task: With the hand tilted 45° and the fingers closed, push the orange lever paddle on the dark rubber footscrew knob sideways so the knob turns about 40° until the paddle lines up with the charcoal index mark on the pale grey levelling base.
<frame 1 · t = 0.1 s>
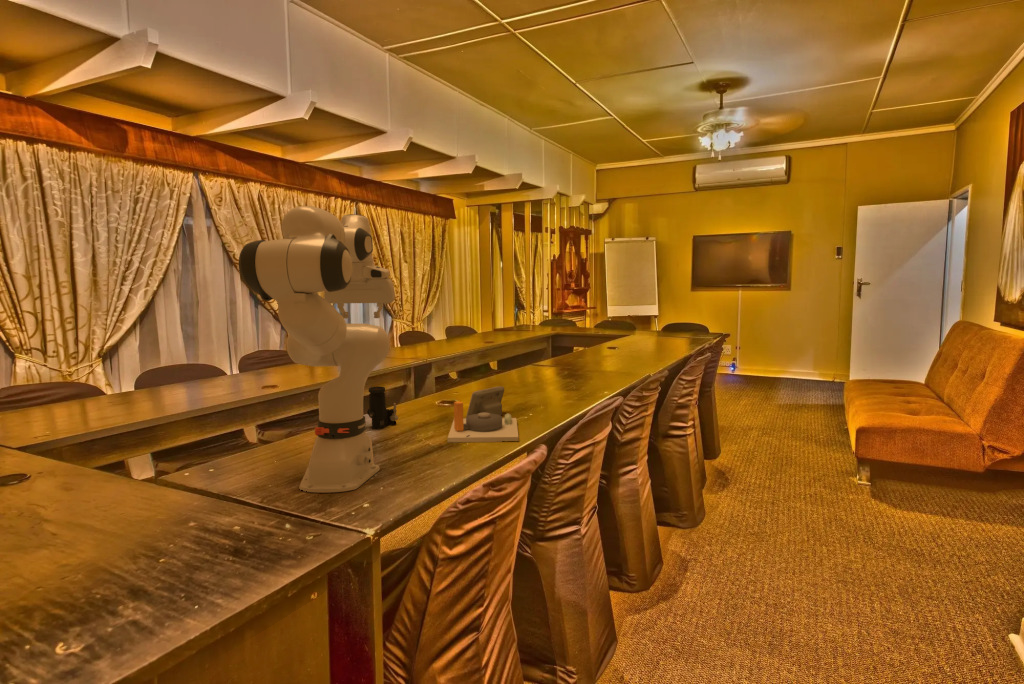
hand: (361, 318, 163), 39 cm above the table, tool pointing down, fingers open, 8 cm apart
levelling base: (484, 431, 182), on the table
scope: (380, 427, 188), on the table
digital clock: (486, 416, 203), on the table
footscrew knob: (478, 413, 180), point 6 cm above the table, hinge at -40.0°
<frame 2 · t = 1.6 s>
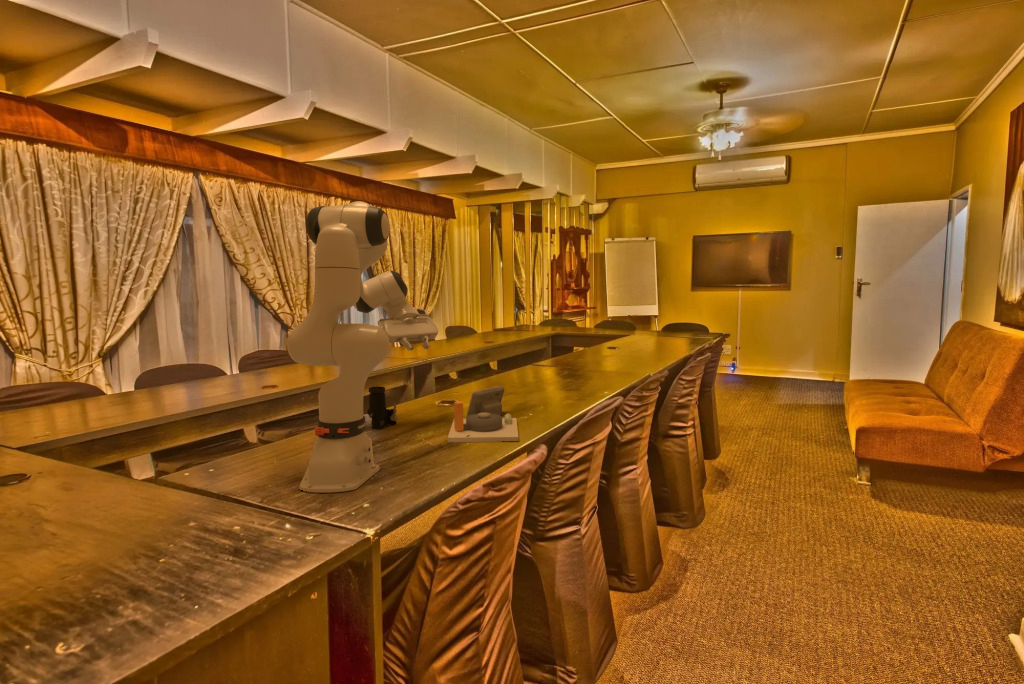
hand: (419, 348, 183), 27 cm above the table, tool tilted 45°, fingers open, 5 cm apart
nothing on the table moved.
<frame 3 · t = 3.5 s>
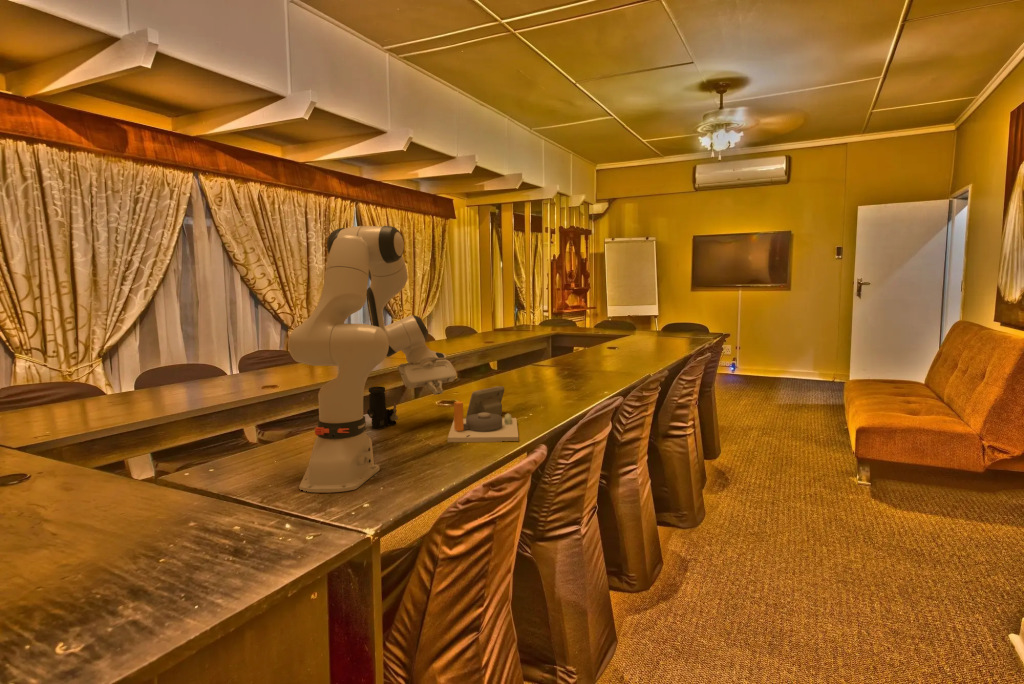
hand: (439, 393, 185), 12 cm above the table, tool tilted 45°, fingers closed
nothing on the table moved.
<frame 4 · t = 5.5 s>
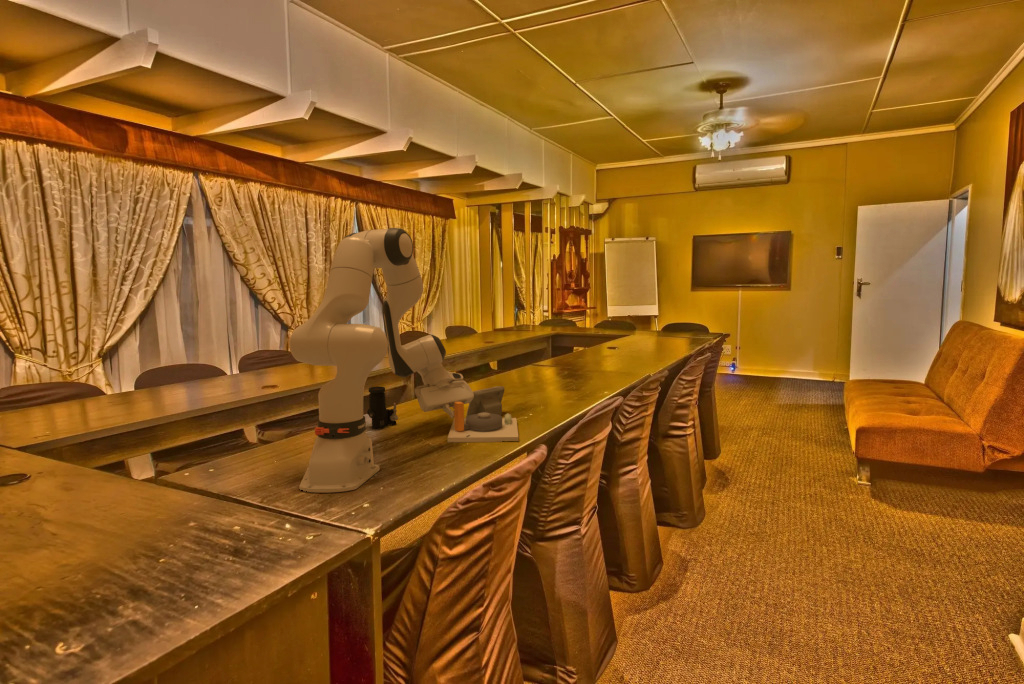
hand: (456, 416, 179), 6 cm above the table, tool tilted 45°, fingers closed
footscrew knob: (478, 413, 180), point 6 cm above the table, hinge at -37.9°, touching gripper
everything else where it was.
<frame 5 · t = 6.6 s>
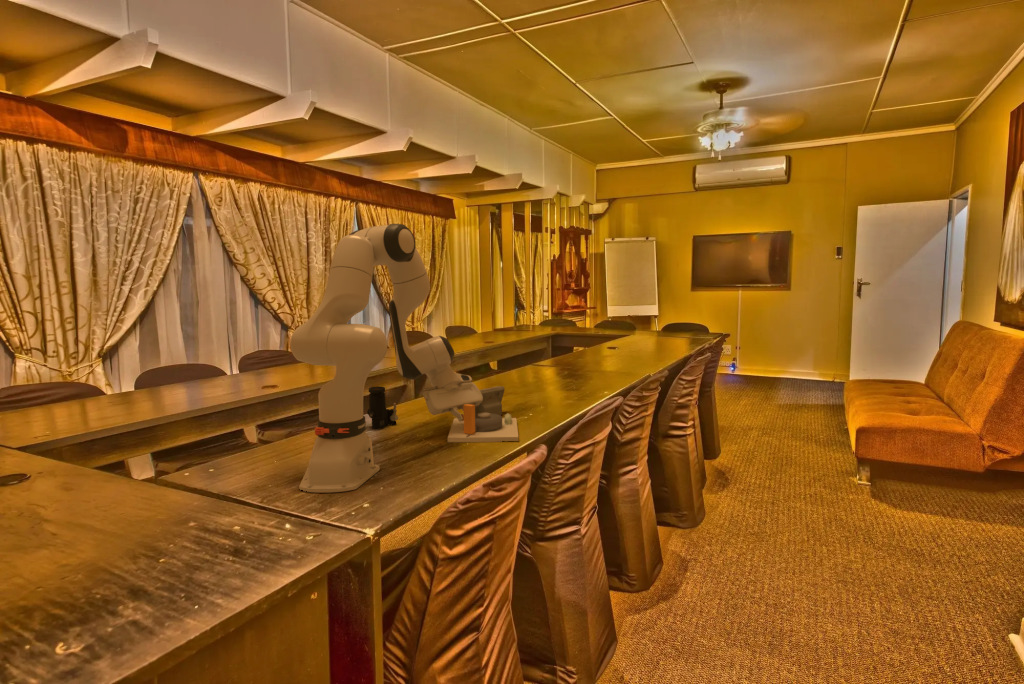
hand: (465, 419, 175), 6 cm above the table, tool tilted 45°, fingers closed, pressing on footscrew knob
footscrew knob: (480, 414, 179), point 6 cm above the table, hinge at -5.5°, touching gripper
everything else where it was.
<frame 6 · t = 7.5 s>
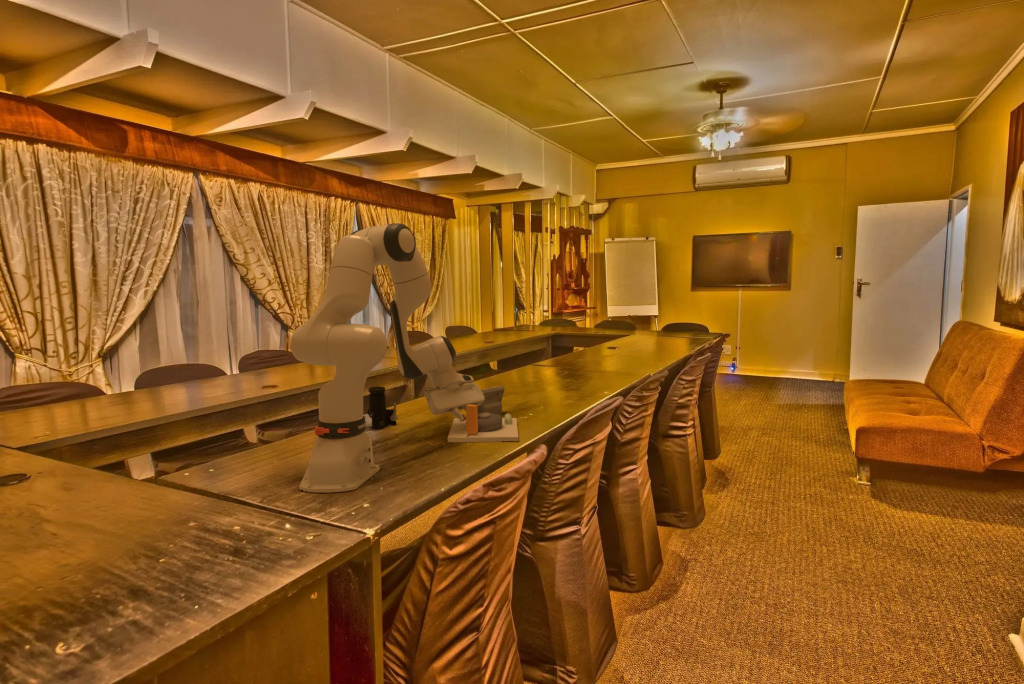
hand: (467, 419, 174), 6 cm above the table, tool tilted 45°, fingers closed
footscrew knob: (481, 414, 179), point 6 cm above the table, hinge at 0.8°, touching gripper
everything else where it was.
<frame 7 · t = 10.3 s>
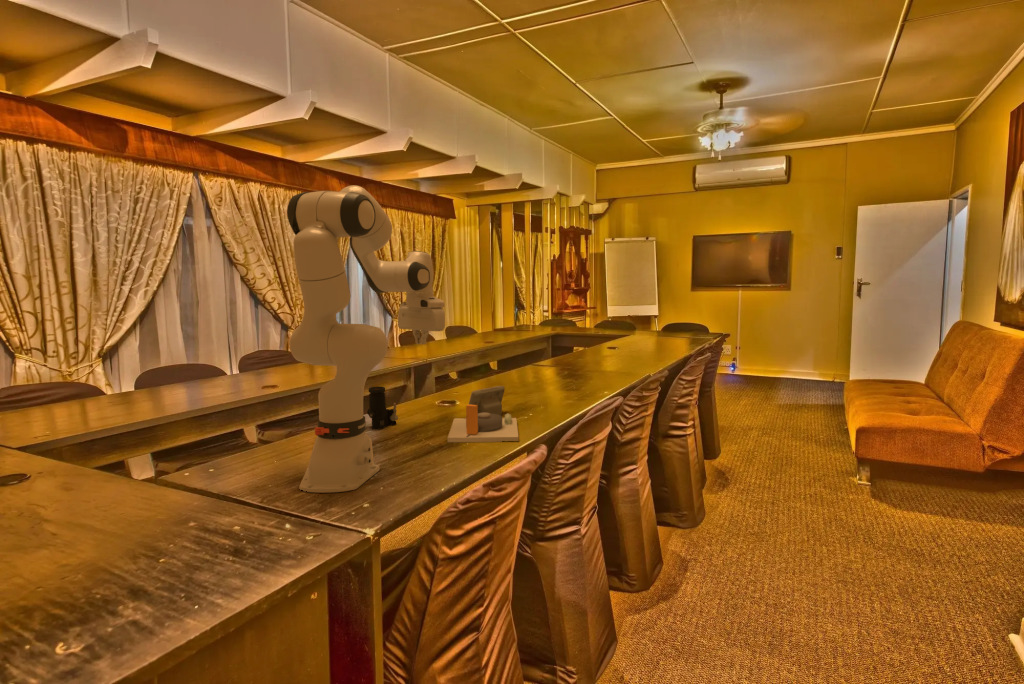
hand: (420, 343, 180), 29 cm above the table, tool pointing down, fingers closed
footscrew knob: (481, 414, 179), point 6 cm above the table, hinge at 0.7°
everything else where it was.
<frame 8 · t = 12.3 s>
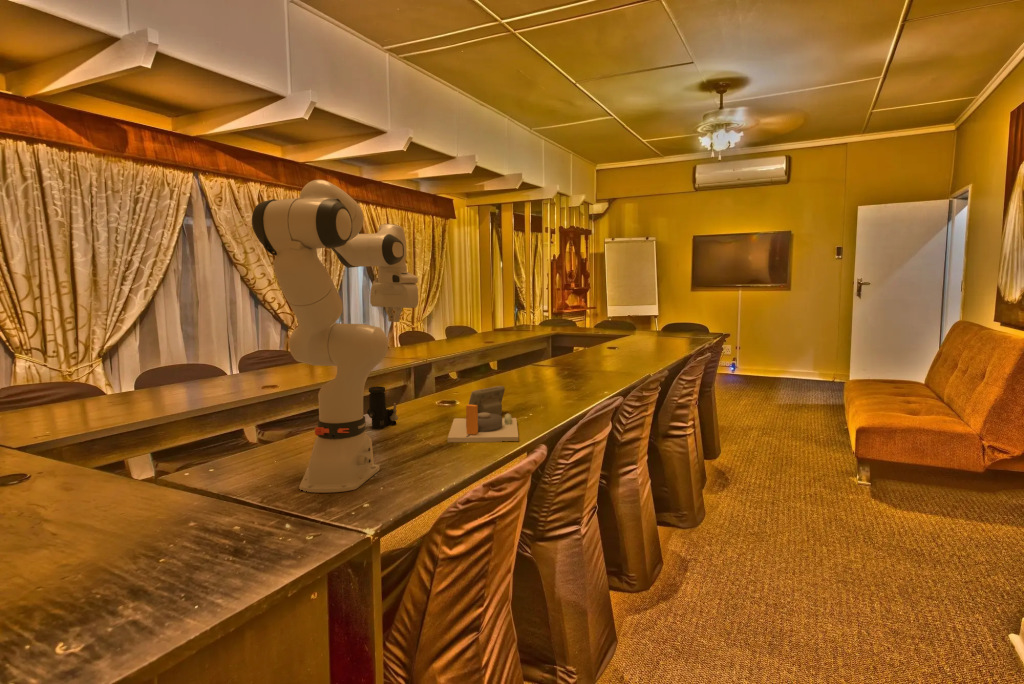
hand: (393, 321, 172), 37 cm above the table, tool pointing down, fingers closed
at the end: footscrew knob at +1° (first picture: -40°); digital clock moved 1.2 cm from its start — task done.
